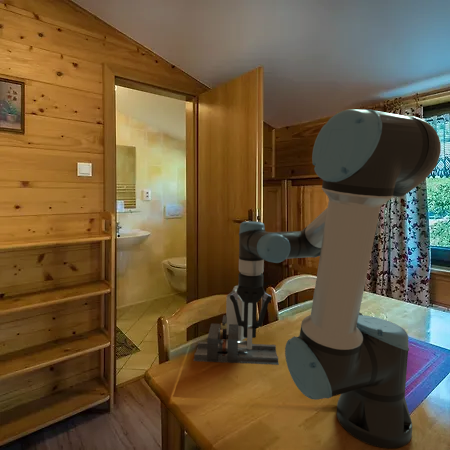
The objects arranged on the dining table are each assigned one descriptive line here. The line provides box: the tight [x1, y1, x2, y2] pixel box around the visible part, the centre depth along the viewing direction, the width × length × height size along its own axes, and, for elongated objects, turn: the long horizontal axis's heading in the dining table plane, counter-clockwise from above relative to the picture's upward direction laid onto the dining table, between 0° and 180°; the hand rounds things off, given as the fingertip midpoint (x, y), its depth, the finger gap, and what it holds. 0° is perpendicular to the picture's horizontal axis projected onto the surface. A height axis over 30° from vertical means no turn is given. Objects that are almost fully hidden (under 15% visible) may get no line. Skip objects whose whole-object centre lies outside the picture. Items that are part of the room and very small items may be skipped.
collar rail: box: [193, 314, 280, 366], centre depth 98 cm, size 12×25×11 cm, turn 87°
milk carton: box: [225, 285, 252, 341], centre depth 111 cm, size 7×7×19 cm
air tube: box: [218, 338, 247, 353], centre depth 99 cm, size 12×4×4 cm, turn 87°
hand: (249, 347), depth 98 cm, fingers closed
